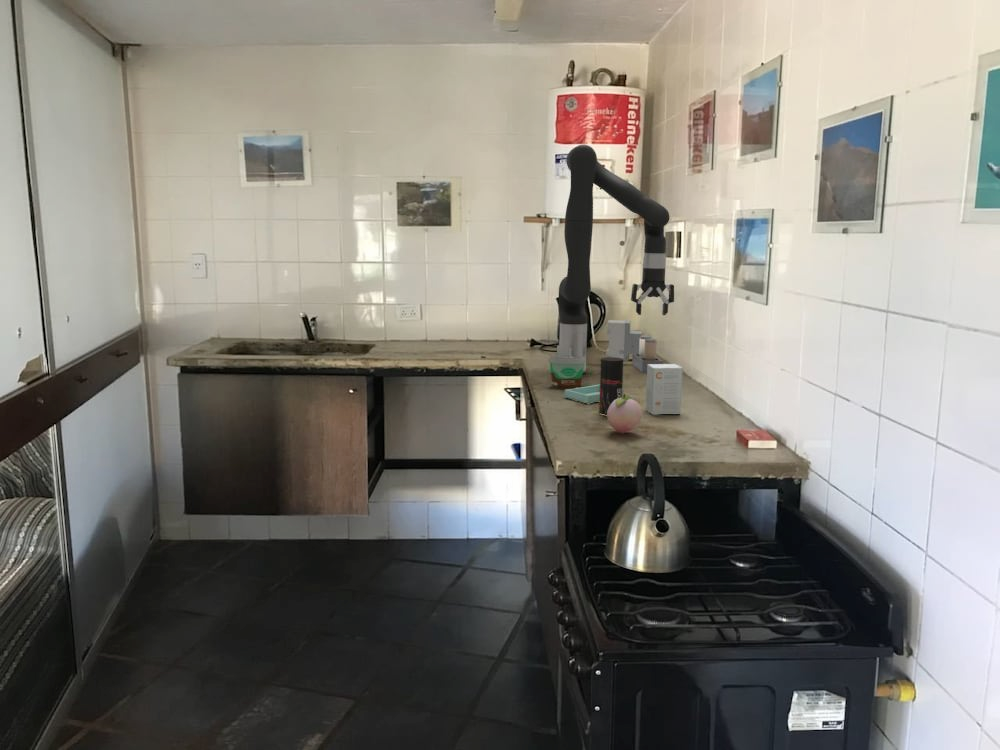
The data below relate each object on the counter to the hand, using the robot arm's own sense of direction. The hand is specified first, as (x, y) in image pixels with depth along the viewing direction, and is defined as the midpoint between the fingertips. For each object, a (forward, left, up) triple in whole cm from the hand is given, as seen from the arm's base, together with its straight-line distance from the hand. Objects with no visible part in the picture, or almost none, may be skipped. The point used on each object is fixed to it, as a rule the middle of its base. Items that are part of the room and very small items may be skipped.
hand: (651, 314), depth 272 cm
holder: (+2, +3, -20) cm, 20 cm away
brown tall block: (-1, -1, -19) cm, 19 cm away
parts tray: (-44, -19, -20) cm, 52 cm away
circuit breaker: (+10, +21, -20) cm, 31 cm away
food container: (-40, -3, -20) cm, 45 cm away
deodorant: (-54, -36, -20) cm, 69 cm away
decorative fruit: (-66, -53, -20) cm, 88 cm away
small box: (-41, -43, -20) cm, 63 cm away
